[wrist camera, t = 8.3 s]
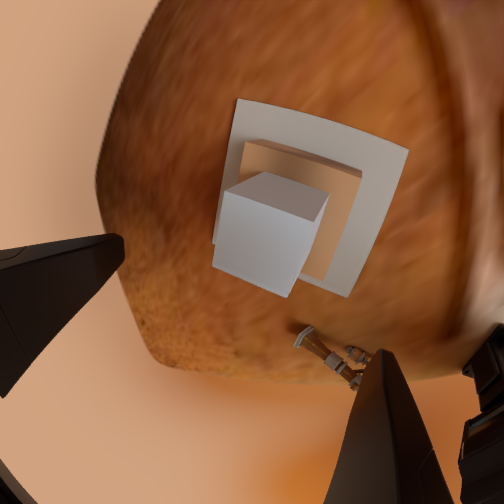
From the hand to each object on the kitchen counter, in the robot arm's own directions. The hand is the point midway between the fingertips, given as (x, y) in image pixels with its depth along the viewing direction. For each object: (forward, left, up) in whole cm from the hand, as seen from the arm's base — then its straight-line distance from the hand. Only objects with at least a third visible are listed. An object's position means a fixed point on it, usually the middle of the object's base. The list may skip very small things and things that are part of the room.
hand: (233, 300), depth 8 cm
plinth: (+1, +1, -12) cm, 12 cm away
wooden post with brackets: (-7, +12, -13) cm, 19 cm away
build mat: (+1, +1, -13) cm, 13 cm away
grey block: (+1, +1, -9) cm, 9 cm away
